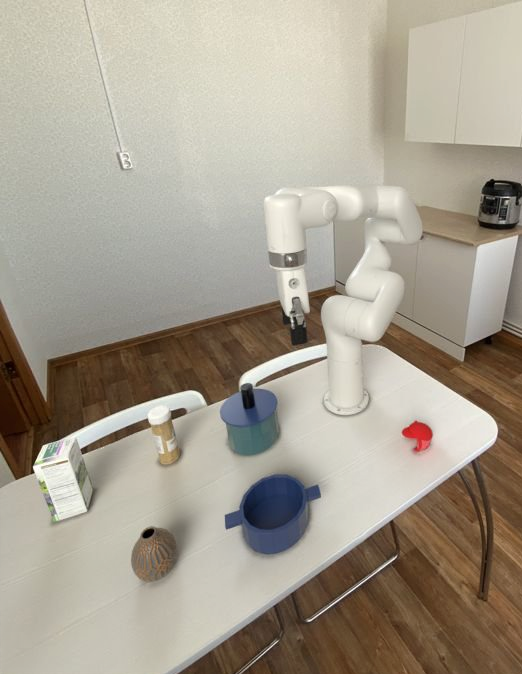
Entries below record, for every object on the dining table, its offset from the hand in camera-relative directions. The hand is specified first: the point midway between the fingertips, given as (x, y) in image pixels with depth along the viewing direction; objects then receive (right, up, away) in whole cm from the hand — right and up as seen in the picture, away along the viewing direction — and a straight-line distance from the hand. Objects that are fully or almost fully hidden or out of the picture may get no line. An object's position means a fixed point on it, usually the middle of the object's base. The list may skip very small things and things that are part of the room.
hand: (294, 333), depth 82 cm
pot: (-12, -28, +13) cm, 33 cm away
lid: (-13, -19, +10) cm, 25 cm away
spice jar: (-30, -30, +7) cm, 44 cm away
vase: (-21, -39, -16) cm, 47 cm away
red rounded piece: (+28, -28, +10) cm, 41 cm away
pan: (-2, -36, -8) cm, 36 cm away
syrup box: (-44, -35, -4) cm, 56 cm away
